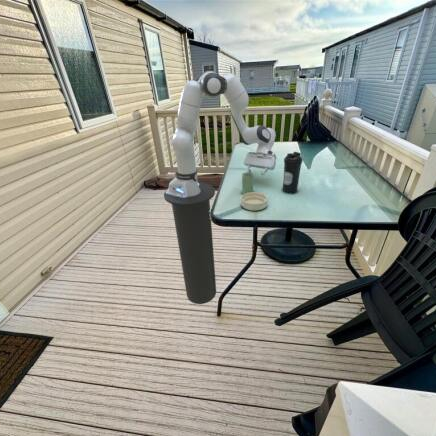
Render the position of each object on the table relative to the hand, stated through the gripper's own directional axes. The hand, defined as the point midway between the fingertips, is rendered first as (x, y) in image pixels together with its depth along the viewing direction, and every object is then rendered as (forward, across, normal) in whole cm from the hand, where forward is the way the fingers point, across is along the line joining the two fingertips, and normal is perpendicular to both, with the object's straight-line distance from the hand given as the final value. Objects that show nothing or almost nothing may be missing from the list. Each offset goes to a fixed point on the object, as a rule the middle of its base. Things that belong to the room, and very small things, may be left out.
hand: (255, 173), depth 150 cm
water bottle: (+3, +21, +10) cm, 23 cm away
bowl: (+22, +10, -9) cm, 26 cm away
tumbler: (+14, 0, -1) cm, 14 cm away
